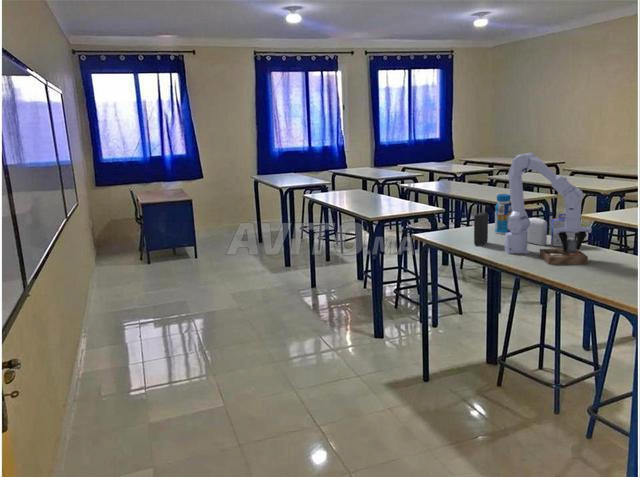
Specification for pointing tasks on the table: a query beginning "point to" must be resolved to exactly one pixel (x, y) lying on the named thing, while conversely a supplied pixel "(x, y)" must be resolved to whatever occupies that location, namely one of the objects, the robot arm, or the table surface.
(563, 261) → the socket board
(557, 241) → the ink cartridge box
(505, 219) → the beverage bottle
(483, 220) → the black upright block
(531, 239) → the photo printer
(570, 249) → the plug
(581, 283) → the table surface
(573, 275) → the table surface
